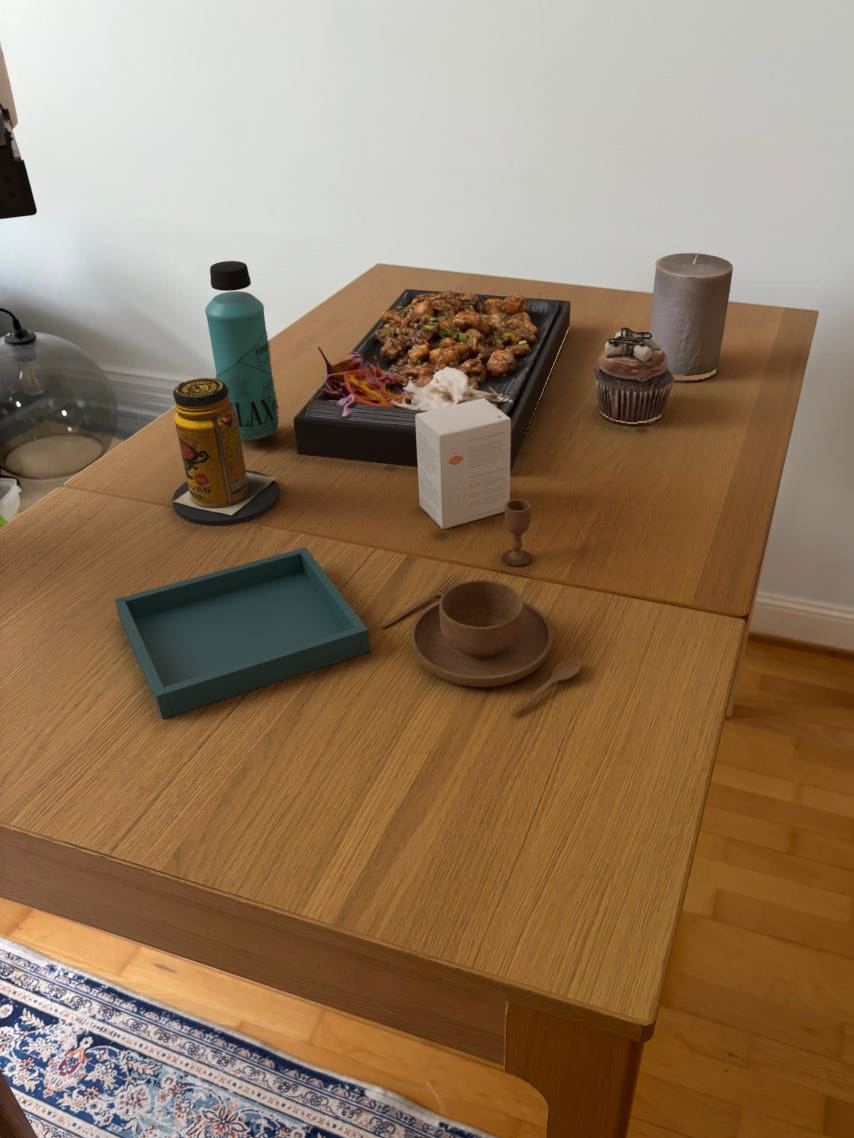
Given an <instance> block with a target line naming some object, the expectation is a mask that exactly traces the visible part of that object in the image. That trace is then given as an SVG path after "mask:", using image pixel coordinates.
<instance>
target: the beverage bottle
mask: <svg viewBox="0 0 854 1138" xmlns="http://www.w3.org/2000/svg"><path fill="white" fill-rule="evenodd" d="M209 275H210V276H209V277H210V287H211V288H212V289H214V290H216V291H221V292H222V291H223V292H222V293H219V294H217V295H215V296H214V297H213V298H212V299H211V300H210V301H209V302H208V303H207V305H206V306H205V309H204V313H205V315H206V321H207V326H208V332H209V333H208V334H209V339H210V344H211V350H212V355H213V363H214V369H215V376H214V379H217V380H220V381H222V382H223V383H225V385H226V386H227V388H228V390H229V391H228V395H229V398H230V401H231V406H232V407H233V408H234V410H235V411H236V415H237V421H238V427H239V433H240V439H241V441H242V440H243V441H251V440H258V439H263V438H267V437H269V436H271V435H272V434H274V433H275V432H277V430H278V428H279V422H280V420H281V419H280V418H279V416H280V413H279V405H278V398H277V397H276V396H277V391H276V390H277V388H275V384H276V382H275V378H274V376H273V367H272V362H271V359H272V352H271V349H270V347H271V344H270V340H269V339H268V337H269V334H268V332H267V326H266V318H265V305H264V303H262V301H261V300H260V299H259V298H257V297H256V296H255V295H253V294H251V293H249V292H247V291H239V290H243V289H246V288H248V287H250V286H251V285H252V281H251V277H250V273H249V268H248V265H247V264H246V263H245V262H242V261H240V260H239V261H238V260H225V261H224V260H223V261H219V262H216V263H214V264H212V265H210V267H209ZM224 291H225V292H224Z"/></svg>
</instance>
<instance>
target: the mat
mask: <svg viewBox="0 0 854 1138" xmlns="http://www.w3.org/2000/svg"><path fill="white" fill-rule="evenodd" d="M246 473H251V474H255V475H261V476H267V477H270V476H269V475H267V474H265V473H262V472H260V471H255V470H251V469H246ZM187 491H189V487H188V482H187V481H185V482H184V483H182V484H181V485H180V486H179V487H178V488H177V489H176V490H175V491H174V493H173V495H172V499H171V500H172V508H173V509H174V512H175V513H176V514H177V515H178V516H179V517H180V518H182V519H183V520H185V521H187V522H190V523H194V524H198V525H203V526H228V525H237V524H240V523H244V522H247V521H251V520H254V519H256V518H259V517H261V516H262V515H265V514H267V512H270V510H272V509H273V508H274V507H275V506H276V504H277V503H278V501H279V499H280V488H279V485H278V482H276V480H274V481H272V482H271V483H270V484H269V485H268V486H267V487H266V488H264V489H263V490H262V491H260V492H259V493H258V494H257V495H256V496H255V497H254V498H253V499H252V500H250V501H249V502H248V503H247V504H246V505H244V506H243V507H242V508H241V509H239V510H238V511H237V512H235V513H234V514H233V515H228V514H224V513H220V512H213V511H209V510H204V509H199V508H195V507H191V506H188V505H184V504H181V503H177V502H173V501H175V500H176V499H178V498H180V496H182V495H184V494H185V493H186V492H187Z"/></svg>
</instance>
